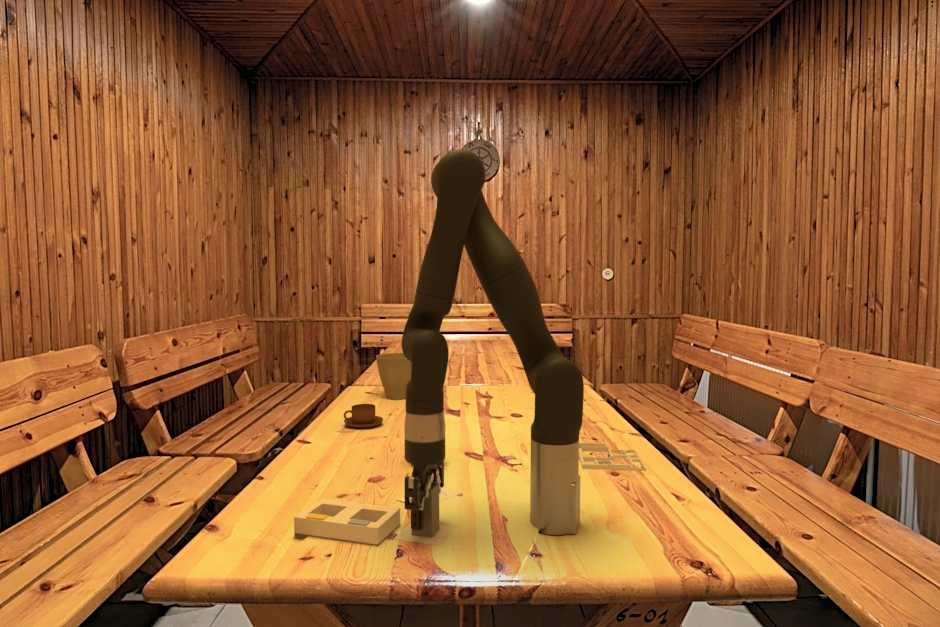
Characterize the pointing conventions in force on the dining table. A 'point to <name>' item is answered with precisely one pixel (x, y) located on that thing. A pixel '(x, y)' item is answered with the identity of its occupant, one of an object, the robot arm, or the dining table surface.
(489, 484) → the dining table surface
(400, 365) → the plant pot
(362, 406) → the cup and saucer
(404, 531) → the mat
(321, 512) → the socket block
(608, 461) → the floor plan model
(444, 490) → the external hard drive
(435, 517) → the plug
